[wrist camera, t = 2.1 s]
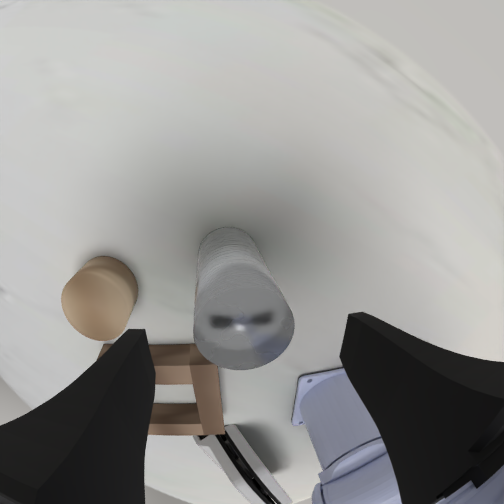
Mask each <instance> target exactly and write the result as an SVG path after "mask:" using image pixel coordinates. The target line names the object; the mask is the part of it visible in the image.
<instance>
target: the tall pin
mask: <svg viewBox="0 0 504 504" xmlns="http://www.w3.org/2000/svg"><path fill="white" fill-rule="evenodd" d="M293 333H294V317H293V314H292V312H291V310H290V308H289V306H288V304H287V302H286V300H285V298H284V297H283V295H282V293H281V291H280V289H279V287H278V285H277V284H276V282H275V280H274V278H273V276H272V274H271V272H270V271H269V269H268V267H267V265H266V263H265V261H264V260H263V258H262V256H261V254H260V252H259V250H258V249H257V247H256V245H255V243H254V241H253V240H252V238H251V237H250V236H249V235H248V234H247V233H246V232H244V231H242V230H240V229H238V228H234V227H223V228H219V229H216V230H214V231H212V232H211V233H209V234H208V235H207V236H206V237H205V238H204V240H203V241H202V243H201V245H200V248H199V253H198V264H197V277H196V292H195V308H194V327H193V334H194V340H195V343H196V346H197V348H198V350H199V351H200V352H201V354H202V355H203V356H204V357H205V358H206V359H207V360H209V361H210V362H212V363H214V364H215V365H217V366H220V367H223V368H227V369H232V370H248V369H253V368H257V367H260V366H263V365H265V364H267V363H269V362H271V361H273V360H274V359H276V358H277V357H278V356H279V355H280V354H282V353H283V351H284V350H285V349H286V348H287V346H288V345H289V343H290V341H291V339H292V336H293Z"/></svg>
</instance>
